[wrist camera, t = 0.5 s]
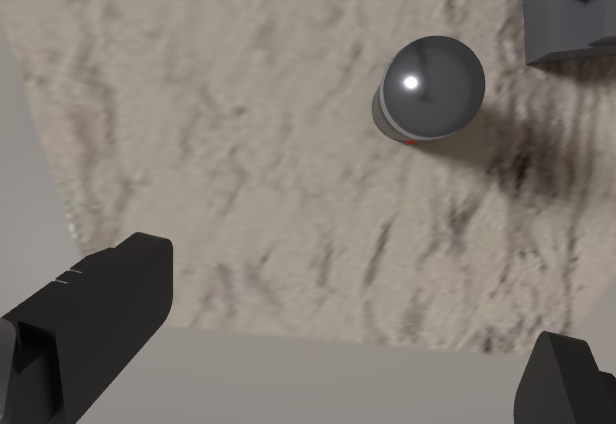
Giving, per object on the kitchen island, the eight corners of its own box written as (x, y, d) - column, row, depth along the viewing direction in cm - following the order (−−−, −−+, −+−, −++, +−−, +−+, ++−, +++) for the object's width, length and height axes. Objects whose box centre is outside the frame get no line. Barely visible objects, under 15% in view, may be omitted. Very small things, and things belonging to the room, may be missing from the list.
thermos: (367, 76, 33) (378, 39, 22) (438, 68, 33) (484, 27, 22) (373, 147, 34) (386, 146, 23) (442, 140, 33) (490, 136, 22)
